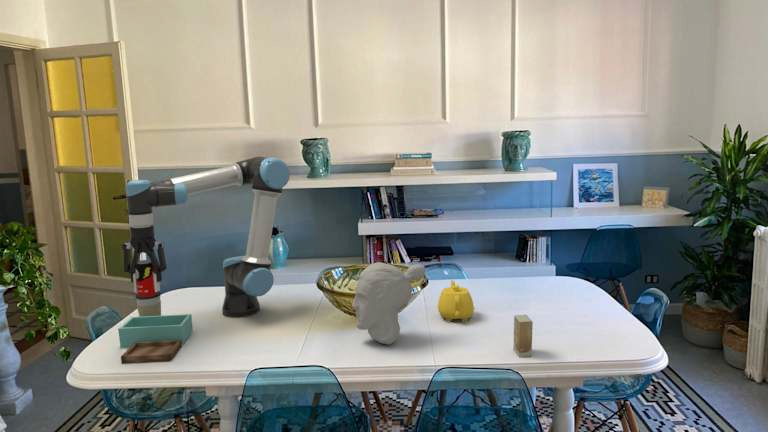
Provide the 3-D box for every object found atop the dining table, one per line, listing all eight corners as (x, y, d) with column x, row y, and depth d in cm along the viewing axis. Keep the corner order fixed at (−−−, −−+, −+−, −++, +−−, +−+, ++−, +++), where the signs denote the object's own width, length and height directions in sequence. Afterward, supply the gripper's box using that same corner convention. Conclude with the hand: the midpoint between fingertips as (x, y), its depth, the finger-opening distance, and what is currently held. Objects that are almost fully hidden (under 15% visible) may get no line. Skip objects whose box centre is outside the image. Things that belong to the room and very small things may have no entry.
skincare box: (512, 349, 187) (513, 314, 185) (525, 348, 187) (526, 313, 185) (519, 357, 180) (519, 321, 178) (532, 357, 181) (532, 320, 179)
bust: (351, 335, 203) (348, 260, 198) (421, 328, 207) (420, 255, 203) (356, 351, 189) (352, 271, 184) (431, 344, 193) (430, 265, 188)
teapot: (439, 325, 210) (439, 293, 208) (436, 308, 230) (435, 278, 227) (476, 325, 209) (476, 292, 207) (469, 307, 229) (469, 277, 227)
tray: (181, 346, 198) (181, 339, 197) (170, 361, 186) (170, 354, 186) (135, 348, 197) (134, 342, 197) (121, 363, 185) (120, 356, 185)
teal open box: (193, 331, 212) (191, 314, 210) (183, 344, 200) (181, 325, 198) (133, 334, 210) (131, 316, 209) (120, 347, 199) (118, 328, 197)
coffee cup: (155, 331, 213) (150, 293, 210) (133, 330, 215) (129, 292, 212) (168, 323, 222) (164, 286, 219) (148, 322, 223) (144, 285, 221)
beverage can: (143, 292, 198) (140, 259, 196) (160, 292, 198) (158, 259, 196) (134, 297, 192) (131, 263, 190) (152, 297, 192) (149, 263, 190)
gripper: (173, 223, 195) (179, 287, 199) (118, 224, 195) (124, 288, 198) (165, 227, 187) (171, 293, 191) (108, 228, 187) (114, 294, 191)
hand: (147, 291), depth 195 cm, fingers closed on beverage can, 6 cm apart
